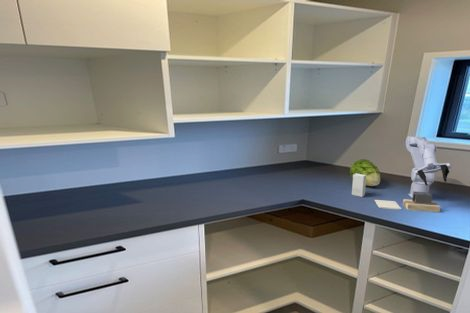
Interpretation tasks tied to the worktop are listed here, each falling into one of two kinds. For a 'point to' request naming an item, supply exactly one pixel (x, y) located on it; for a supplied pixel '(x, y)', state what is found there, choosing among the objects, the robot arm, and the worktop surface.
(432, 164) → the robot arm
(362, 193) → the skincare box
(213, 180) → the worktop surface
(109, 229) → the worktop surface
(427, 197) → the grey notched block
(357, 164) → the lettuce
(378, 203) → the tile
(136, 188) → the worktop surface
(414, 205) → the body
